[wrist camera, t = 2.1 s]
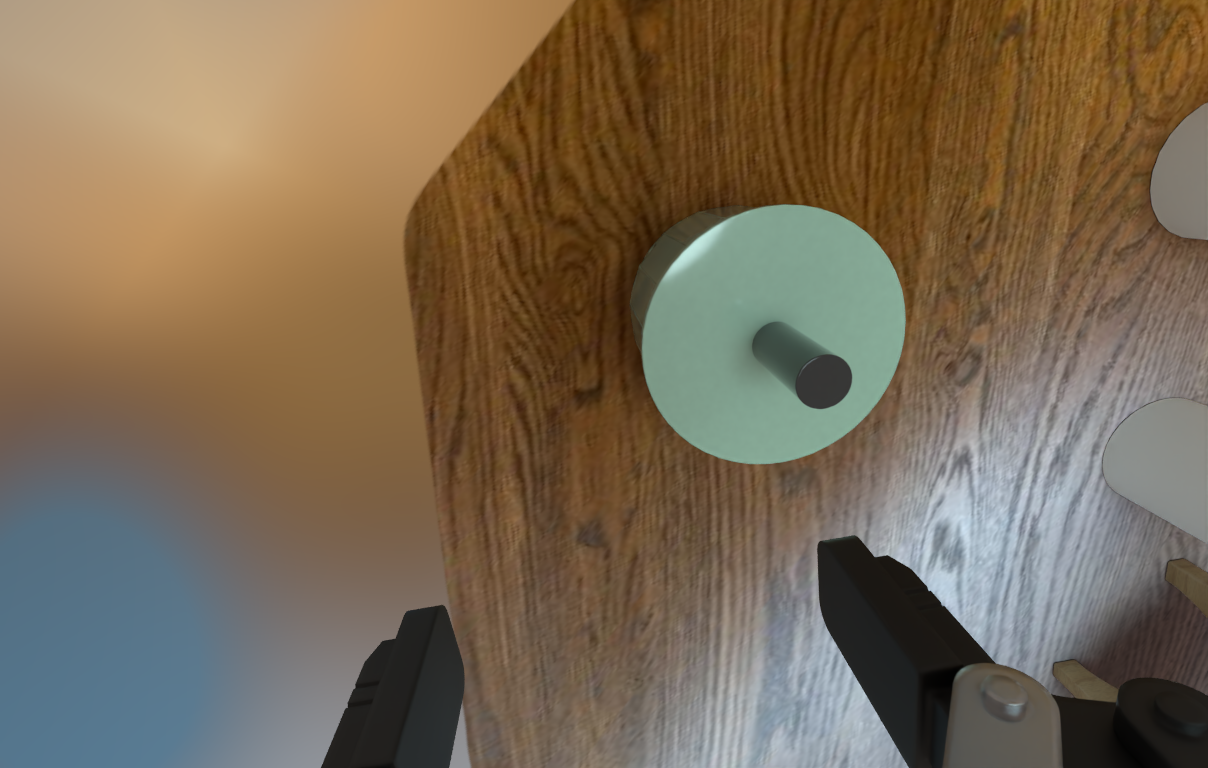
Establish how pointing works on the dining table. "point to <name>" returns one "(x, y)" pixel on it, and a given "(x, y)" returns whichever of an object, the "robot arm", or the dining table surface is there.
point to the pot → (669, 258)
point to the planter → (1085, 685)
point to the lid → (773, 333)
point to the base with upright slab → (1183, 178)
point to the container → (1164, 462)
